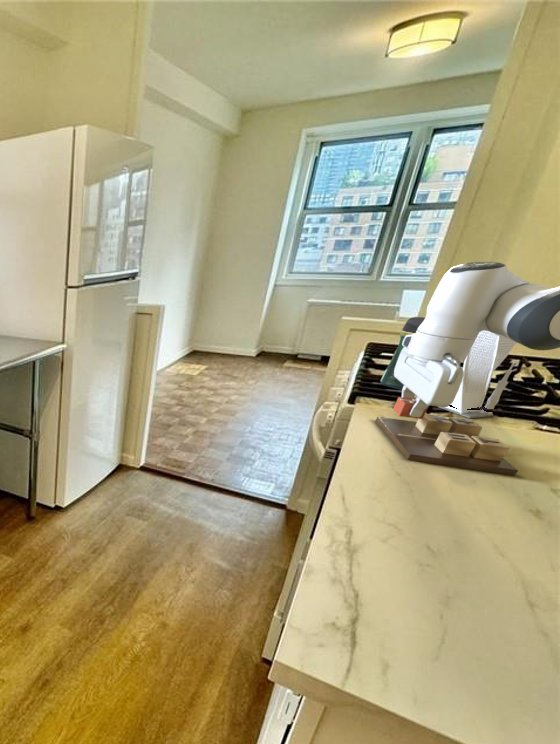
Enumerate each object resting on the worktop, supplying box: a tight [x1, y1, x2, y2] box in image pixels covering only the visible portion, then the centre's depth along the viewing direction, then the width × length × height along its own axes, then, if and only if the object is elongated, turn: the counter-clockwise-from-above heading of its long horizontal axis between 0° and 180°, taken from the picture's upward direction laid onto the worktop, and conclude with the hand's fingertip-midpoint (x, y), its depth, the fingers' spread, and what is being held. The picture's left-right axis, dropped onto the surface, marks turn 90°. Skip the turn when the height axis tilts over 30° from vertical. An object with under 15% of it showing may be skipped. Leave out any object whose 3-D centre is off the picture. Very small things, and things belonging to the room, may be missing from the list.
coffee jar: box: [380, 316, 426, 391], centre depth 127 cm, size 10×8×19 cm
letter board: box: [375, 416, 519, 477], centre depth 100 cm, size 16×20×1 cm
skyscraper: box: [437, 331, 518, 419], centre depth 110 cm, size 8×8×28 cm
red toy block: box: [392, 396, 430, 420], centre depth 103 cm, size 5×4×3 cm
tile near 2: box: [415, 413, 452, 435], centre depth 103 cm, size 4×4×3 cm
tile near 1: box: [448, 416, 483, 438], centre depth 101 cm, size 4×4×3 cm
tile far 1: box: [471, 435, 510, 462], centre depth 93 cm, size 4×4×3 cm
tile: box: [434, 432, 476, 457], centre depth 94 cm, size 4×4×3 cm
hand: (408, 411), depth 103 cm, fingers closed on red toy block, 4 cm apart
